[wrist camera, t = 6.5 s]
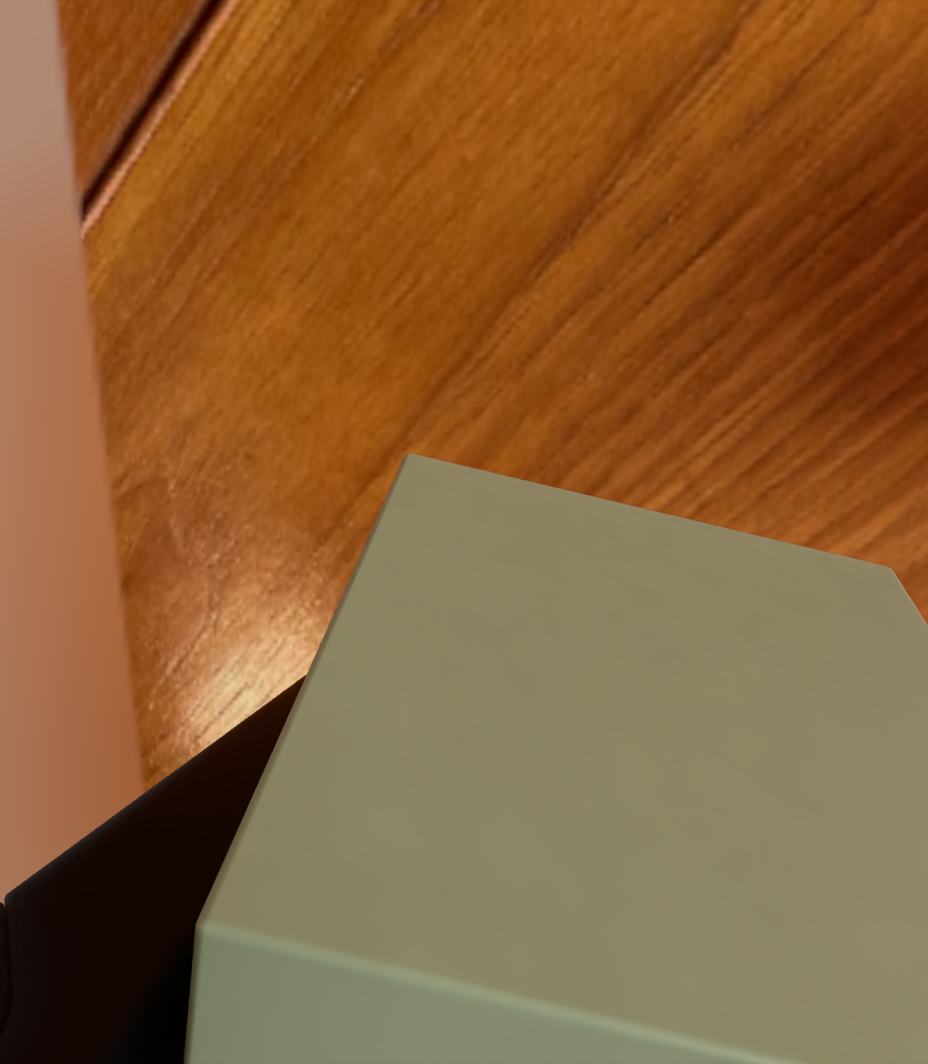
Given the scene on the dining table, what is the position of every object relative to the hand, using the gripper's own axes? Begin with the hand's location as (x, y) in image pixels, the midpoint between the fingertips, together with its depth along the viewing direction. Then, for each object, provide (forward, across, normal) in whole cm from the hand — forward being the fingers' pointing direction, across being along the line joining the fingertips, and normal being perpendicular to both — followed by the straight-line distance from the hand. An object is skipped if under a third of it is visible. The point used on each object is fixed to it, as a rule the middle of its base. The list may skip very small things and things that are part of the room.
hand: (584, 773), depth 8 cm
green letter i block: (+1, 0, 0) cm, 1 cm away
